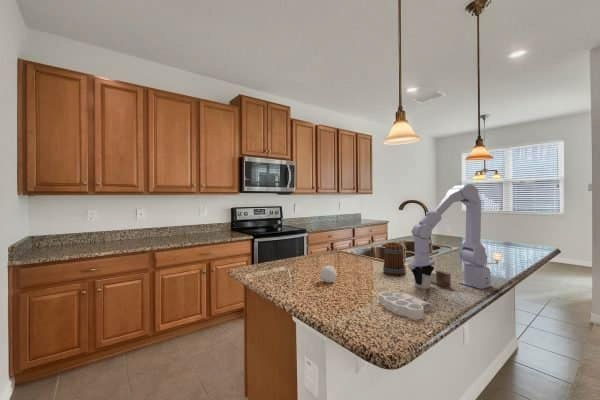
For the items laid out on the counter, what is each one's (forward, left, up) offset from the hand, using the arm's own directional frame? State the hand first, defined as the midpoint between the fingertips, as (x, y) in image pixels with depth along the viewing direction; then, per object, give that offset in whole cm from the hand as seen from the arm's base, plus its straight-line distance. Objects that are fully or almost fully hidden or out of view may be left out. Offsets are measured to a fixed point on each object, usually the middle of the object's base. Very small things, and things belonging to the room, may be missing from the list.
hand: (422, 283), depth 117 cm
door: (+4, -10, -1) cm, 11 cm away
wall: (-4, -8, -1) cm, 9 cm away
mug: (+22, -8, -2) cm, 24 cm away
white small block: (0, 0, -2) cm, 2 cm away
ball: (+26, +31, -2) cm, 41 cm away
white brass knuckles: (-12, +25, -2) cm, 28 cm away
